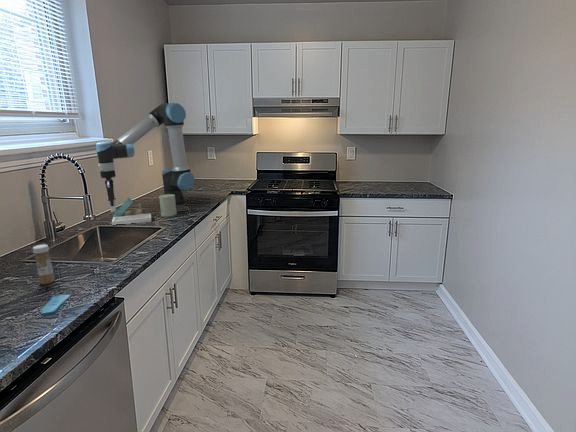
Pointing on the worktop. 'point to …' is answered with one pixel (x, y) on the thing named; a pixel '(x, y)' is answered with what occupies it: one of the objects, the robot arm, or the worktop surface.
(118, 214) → the bar
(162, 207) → the can
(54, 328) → the worktop surface
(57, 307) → the sponge
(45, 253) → the sprinkles bottle
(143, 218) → the tray
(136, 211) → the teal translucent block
